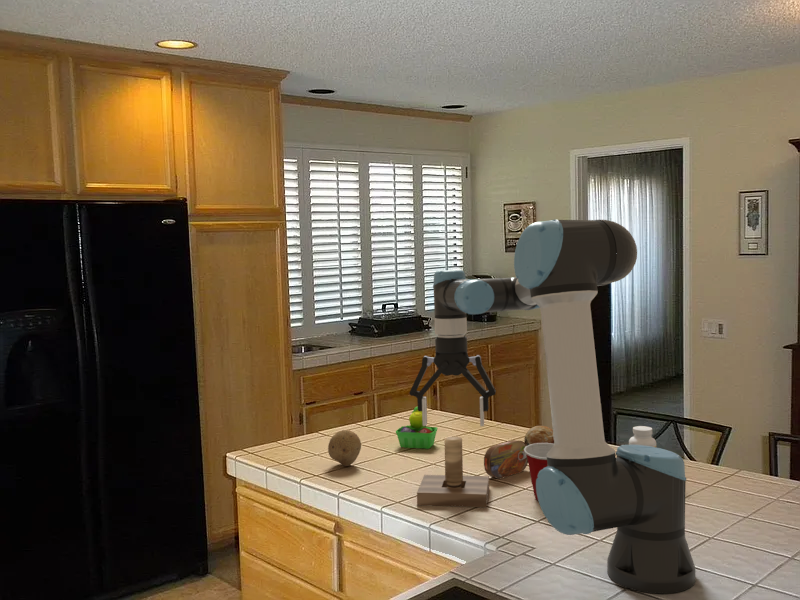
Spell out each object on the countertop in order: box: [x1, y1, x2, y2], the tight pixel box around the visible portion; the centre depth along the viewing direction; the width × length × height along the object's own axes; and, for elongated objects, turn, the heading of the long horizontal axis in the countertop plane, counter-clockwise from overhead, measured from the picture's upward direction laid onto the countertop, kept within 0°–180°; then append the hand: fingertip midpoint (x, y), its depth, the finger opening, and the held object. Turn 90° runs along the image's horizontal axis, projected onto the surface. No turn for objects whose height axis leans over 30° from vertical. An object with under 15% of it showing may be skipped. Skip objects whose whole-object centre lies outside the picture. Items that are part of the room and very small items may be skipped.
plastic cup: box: [524, 443, 554, 501], centre depth 185 cm, size 11×11×12 cm
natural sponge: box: [327, 429, 362, 467], centre depth 216 cm, size 9×9×10 cm
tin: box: [483, 439, 529, 480], centre depth 205 cm, size 15×3×8 cm, turn 129°
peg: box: [444, 436, 464, 488], centre depth 188 cm, size 4×4×14 cm
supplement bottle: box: [628, 425, 657, 448], centre depth 198 cm, size 7×7×13 cm
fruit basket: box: [395, 406, 438, 450], centre depth 236 cm, size 11×9×11 cm
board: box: [416, 474, 490, 508], centre depth 188 cm, size 14×16×3 cm
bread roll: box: [523, 425, 554, 446], centre depth 232 cm, size 10×10×8 cm
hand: (453, 425), depth 187 cm, fingers open, 13 cm apart
